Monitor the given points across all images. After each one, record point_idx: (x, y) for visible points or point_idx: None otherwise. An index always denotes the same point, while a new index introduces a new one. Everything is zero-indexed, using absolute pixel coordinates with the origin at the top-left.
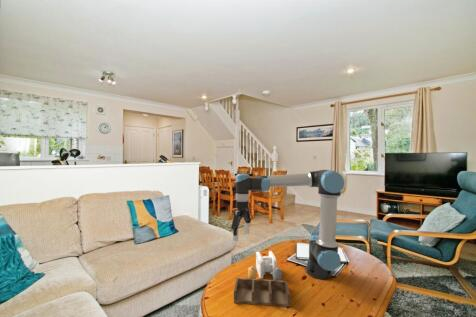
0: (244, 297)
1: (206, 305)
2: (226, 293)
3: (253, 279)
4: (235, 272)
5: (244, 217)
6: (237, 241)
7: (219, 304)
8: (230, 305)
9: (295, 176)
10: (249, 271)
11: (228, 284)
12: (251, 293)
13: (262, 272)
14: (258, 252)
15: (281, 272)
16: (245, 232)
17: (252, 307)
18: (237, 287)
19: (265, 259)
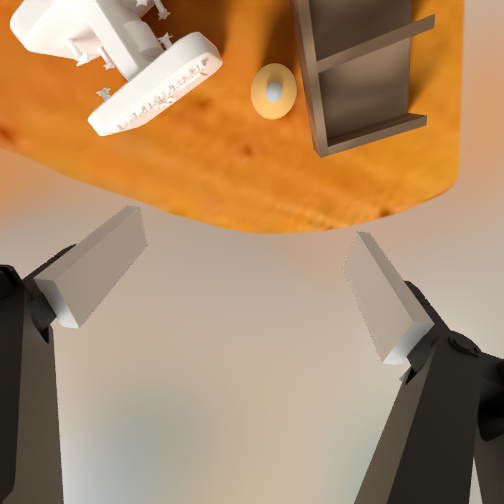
0: (386, 83)
1: (424, 198)
2: (353, 168)
3: (314, 66)
4: (218, 192)
5: (46, 440)
6: (369, 233)
7: (416, 164)
8: None
9: None
10: (293, 102)
11: (299, 184)
12: (352, 62)
13: (213, 47)
14: (105, 114)
15: None
16: (139, 241)
17: None
18: (343, 136)
19: (131, 43)
